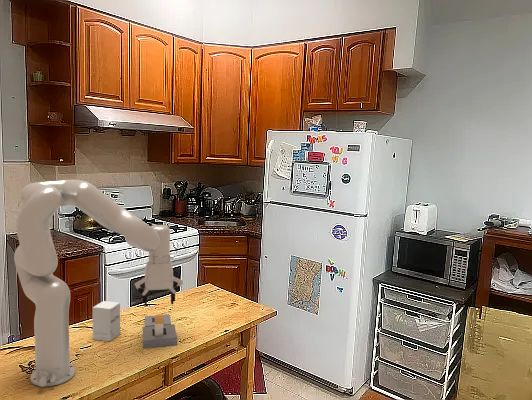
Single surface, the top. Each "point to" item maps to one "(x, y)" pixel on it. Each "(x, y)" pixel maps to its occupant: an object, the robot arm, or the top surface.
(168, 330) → the port
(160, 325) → the plug
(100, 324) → the supplement box
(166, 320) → the grey slotted plate
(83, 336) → the top surface
